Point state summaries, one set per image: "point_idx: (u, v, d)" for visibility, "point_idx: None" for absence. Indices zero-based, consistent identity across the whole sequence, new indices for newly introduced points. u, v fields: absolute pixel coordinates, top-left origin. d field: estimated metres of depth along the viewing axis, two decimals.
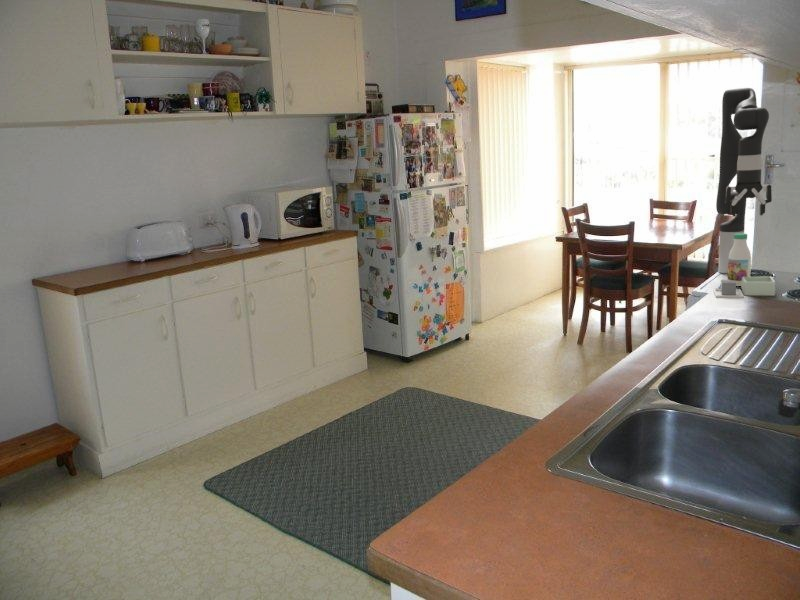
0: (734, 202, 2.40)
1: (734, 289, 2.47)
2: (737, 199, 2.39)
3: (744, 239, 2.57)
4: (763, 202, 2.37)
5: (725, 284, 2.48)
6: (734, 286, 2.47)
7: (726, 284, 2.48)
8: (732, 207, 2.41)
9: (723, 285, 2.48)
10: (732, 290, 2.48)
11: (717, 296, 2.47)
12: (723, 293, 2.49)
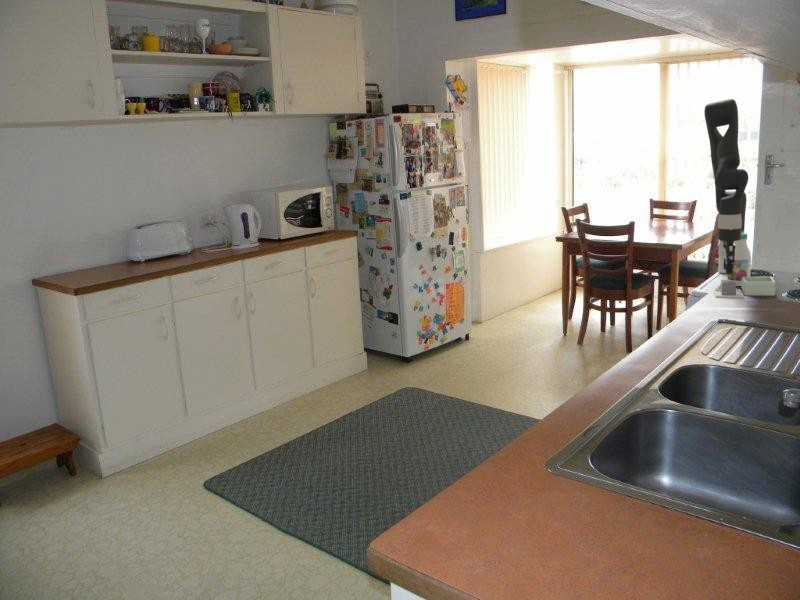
0: None
1: (734, 289, 2.47)
2: None
3: (744, 239, 2.57)
4: None
5: (725, 284, 2.48)
6: (734, 286, 2.47)
7: (726, 284, 2.48)
8: (731, 265, 2.43)
9: (723, 285, 2.48)
10: (732, 290, 2.48)
11: (717, 296, 2.47)
12: (723, 293, 2.49)
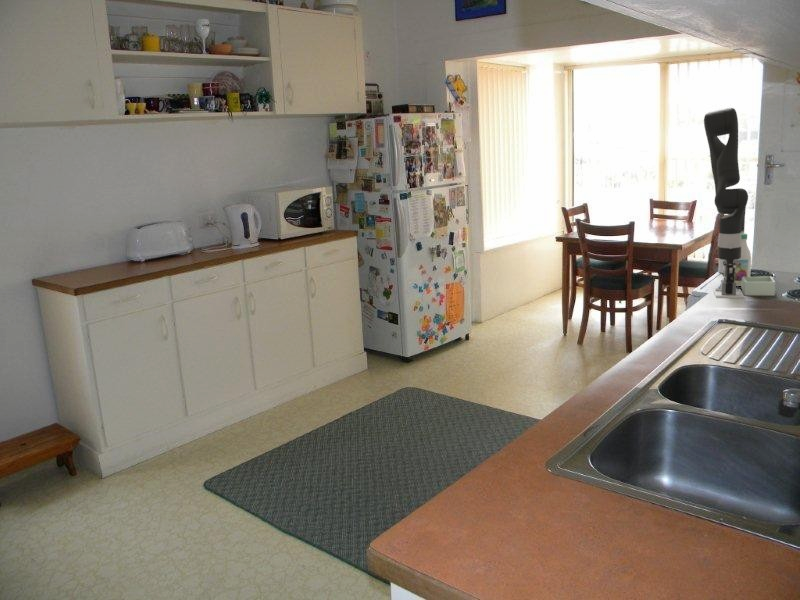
0: None
1: (734, 289, 2.47)
2: None
3: (744, 239, 2.57)
4: (731, 278, 2.52)
5: (725, 284, 2.48)
6: (734, 286, 2.47)
7: None
8: None
9: (723, 285, 2.48)
10: (732, 290, 2.48)
11: (717, 296, 2.47)
12: (723, 293, 2.49)
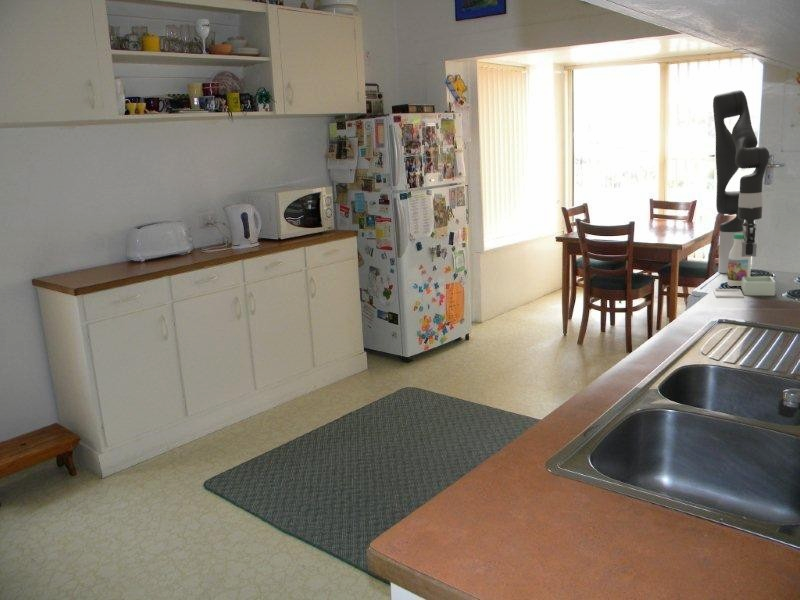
0: None
1: (755, 250, 2.44)
2: None
3: None
4: (751, 239, 2.49)
5: (745, 245, 2.45)
6: (754, 247, 2.44)
7: None
8: (751, 246, 2.43)
9: (743, 246, 2.45)
10: None
11: (717, 296, 2.47)
12: (743, 254, 2.46)
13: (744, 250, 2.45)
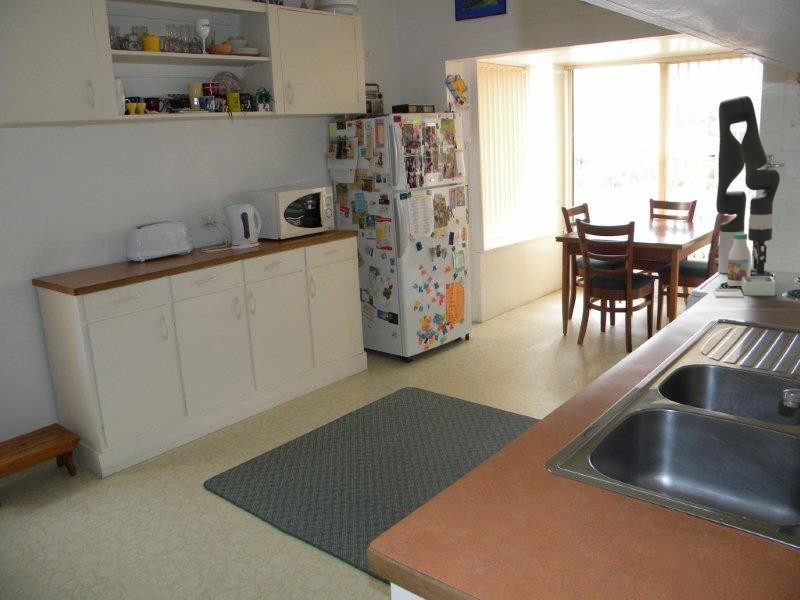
0: None
1: None
2: None
3: (744, 239, 2.57)
4: None
5: None
6: None
7: None
8: None
9: None
10: None
11: (717, 296, 2.47)
12: None
13: None
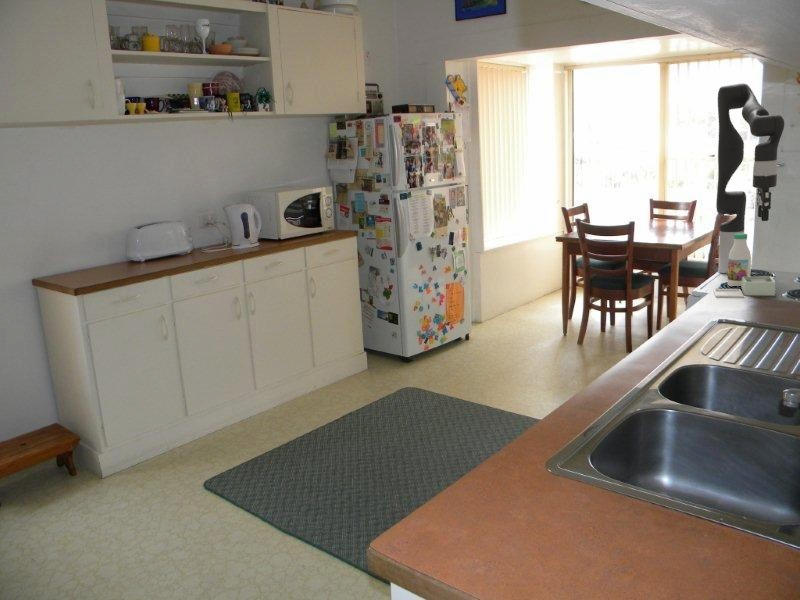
0: None
1: None
2: None
3: (744, 239, 2.57)
4: (765, 204, 2.52)
5: None
6: None
7: None
8: None
9: None
10: None
11: (717, 296, 2.47)
12: None
13: None
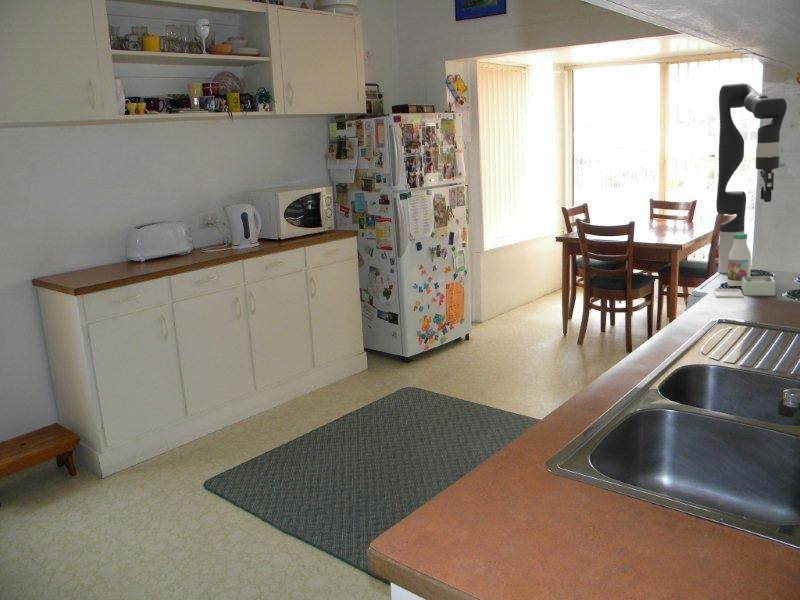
0: None
1: None
2: None
3: (744, 239, 2.57)
4: None
5: None
6: None
7: None
8: None
9: None
10: None
11: (717, 296, 2.47)
12: None
13: None
